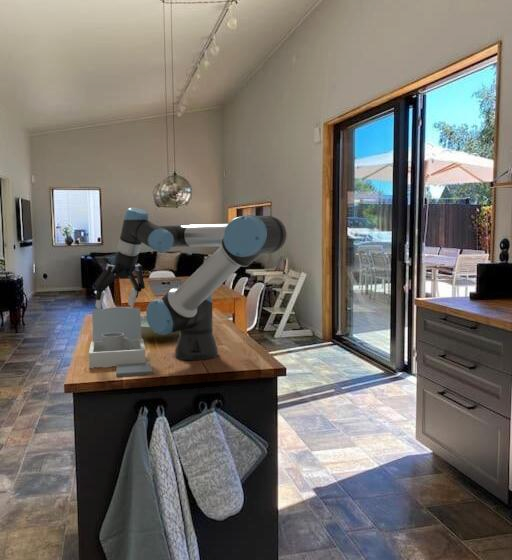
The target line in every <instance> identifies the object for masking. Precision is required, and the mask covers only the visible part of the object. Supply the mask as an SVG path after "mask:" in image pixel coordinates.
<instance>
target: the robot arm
mask: <svg viewBox="0 0 512 560" xmlns="http://www.w3.org/2000/svg"><path fill="white" fill-rule="evenodd" d="M287 236H288V234H287V228H286V226H285V224H284V223H283V222H282V220H280V219H279V218H277V217H275V216H273V215H272V216H271V215H252V214H245V215H242V216H241V215H240V216H238V217H235V218H233V219H231V220H230V221H229V223H206V224H178V225H177V224H176V225H158V224H155V223H153V222H151V221H150V220H149V213H148V212H147V210H144V209H141V208H138V207H129V208H127V210H126V211H125V215H124V218H123V222H122V227H121V232H120V236H119V239H118V240H119V241H118V245H117V250H116V252H115V257H114V264H109V263H108V262H107V263H106V264H105V266H104V269H103V271H101V273H100V275H99V276H98V278H97V279H95V281H94V283H93V284H92V286H91V287H92V289H93V290H95V293H96V294H95V296H94V297H95V307H96V308H97V310H101V309H102V305H103V302H104V297H105V294H106V292H105V290H106V289H107V288H108V287H109V286H110V285H111V284H112V283H113V282H114V281H115V280H117V279H119V278H120V279H121V278H128V279H129V281H130V283H131V284H132V286H133V287H131V290H130V294H129V298H128V301H127V305H128V306H130V308H135V307H134V306H135V302H136V299H137V298H138V295H139V293H141V291H142V290H144V289H146V285H145V280H144V277H143V265H141V264H140V263H137V262H138V259H139V254H140V251H141V246H142V244H144V245H146V246H148V248H150V249H151V250H154V251H157V252H159V253H160V254H161V253H167V251H170V250H171V249H172V248H176V247H177V248H178V247H179V248H180V247H183V248H184V247H190V248H191V247H218V248H217V250H216V251H215V252H213V253H212V254H211V256H210V257H209V258H207V260H205V262H203V263H202V264H201V265H200V266H199V267H198V268H197V269H196V270H195V272H193V273H192V274H191V275H190V276H189V277H188V278H187V279H186V280H185V281H184V282H183V283H182V284H181V285H180V286H179V287H174V288H171V289H169V291H167V292H166V293H165V294H164V295H163V297H161V298H159V299H157V298H156V299H154V300H151V302H149V303H148V305H147V308H146V310H145V314H146V316H145V317H146V321H147V324H148V326H149V329H151V331H152V332H154V333H155V334H157V335H159V336H160V335H161V336H163V335H170V334H173V333H176V332H179V337H178V339H177V342H176V343H177V344H176V347H175V349H174V356H175V358H176V359H179V360H185V361H188V360H189V361H202V360H204V361H205V360H209V359H213V358H215V357H218V355H219V349H218V346H217V344H216V339H215V337H214V334H213V333H214V331H213V327H214V326H213V305H214V304H213V297H212V296H213V295H212V294H213V293H214V292H216V291H217V289H218V288H219V287H220V286H221V285H222V284H224V283H225V281H227V280H228V279H229V278H230V277H231V276H232V275H233V274H234V273H236V271H238V269H240V268H241V267H242V268H243V267H244V268H245V267H246V268H247V267H249V266H250V265H251V264H253V262H254V261H256V260H257V259H258V258H259V257H260V256H261V255H267V254H268V255H269V254H273V253H276V252H278V251H280V250H281V249H282V248H283V246H284V245H285V243H286V241H287ZM134 271H135V274H136V278H135V275H134V274H133V272H134Z"/></svg>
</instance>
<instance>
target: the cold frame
mask: <svg viewBox="0 0 512 560" xmlns="http://www.w3.org/2000/svg"><path fill="white" fill-rule="evenodd" d="M91 313H92V314H91V315H92V341H91V342H90V346H89V351H88V364H89V365H88V367H89V369H95V368H94V367H102V368H113V367H112V366H116V365H119V364H135V363H147V362H146V347H145V343H144V342H145V341H144V339H143V338H142V322H141V321H142V319H141V318H142V317H141V308H140V307H130V308H125V309H104V308H101V310H99V309H92V310H91ZM106 333H123V334H124V337H127V338H129V339H130V340H131V342H132V350H127V348H128V346H127V342H124V350H121V351H104V352H103V351H102V335H103V334H106Z"/></svg>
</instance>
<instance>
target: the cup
mask: <svg viewBox="0 0 512 560" xmlns="http://www.w3.org/2000/svg"><path fill="white" fill-rule="evenodd" d="M124 342H127V346H128V348H127V350H132V342H131V340H130V339H129V338H127V337H124V334H123V333H106V334H103V335H102V351H103V352H104V351H121V350H124Z"/></svg>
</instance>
